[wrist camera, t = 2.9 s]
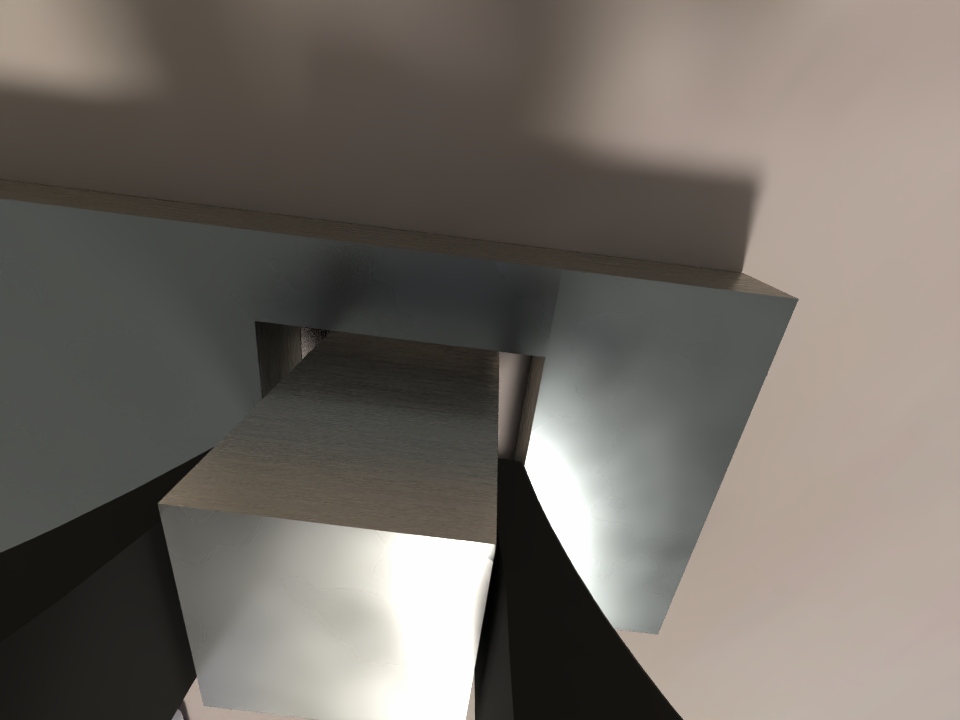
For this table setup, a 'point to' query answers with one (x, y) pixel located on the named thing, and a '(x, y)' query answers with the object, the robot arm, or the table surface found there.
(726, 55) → the table surface
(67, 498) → the grey slotted board
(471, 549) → the steel block
